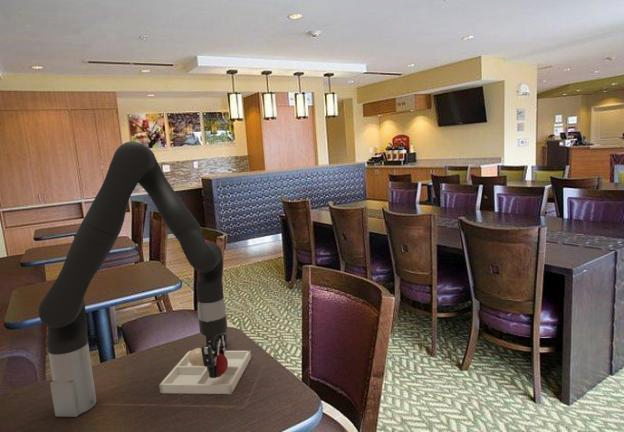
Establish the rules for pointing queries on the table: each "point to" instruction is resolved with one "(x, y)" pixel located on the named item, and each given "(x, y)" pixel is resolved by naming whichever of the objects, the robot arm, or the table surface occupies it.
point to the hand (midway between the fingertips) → (217, 371)
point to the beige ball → (196, 357)
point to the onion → (221, 364)
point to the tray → (205, 376)
